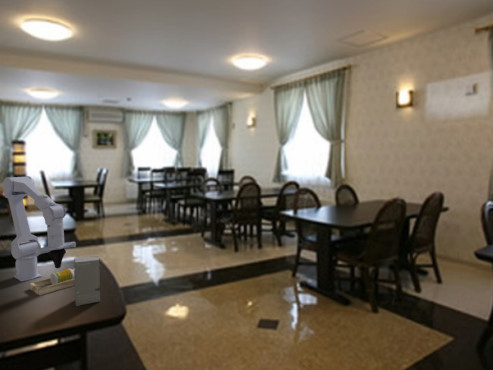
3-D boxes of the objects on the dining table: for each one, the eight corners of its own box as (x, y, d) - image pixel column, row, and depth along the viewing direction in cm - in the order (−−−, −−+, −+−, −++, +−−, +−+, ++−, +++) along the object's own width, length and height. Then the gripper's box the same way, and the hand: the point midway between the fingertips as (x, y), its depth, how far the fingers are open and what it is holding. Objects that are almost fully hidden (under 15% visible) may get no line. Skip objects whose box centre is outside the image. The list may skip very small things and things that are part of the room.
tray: (29, 289, 136) (29, 283, 135) (79, 275, 151) (78, 269, 151) (39, 295, 129) (39, 289, 129) (90, 280, 144) (89, 274, 144)
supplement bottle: (57, 277, 136) (80, 270, 144) (50, 271, 139) (73, 264, 147) (55, 288, 137) (79, 281, 145) (49, 282, 140) (72, 275, 148)
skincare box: (75, 306, 120) (73, 263, 118) (75, 299, 126) (72, 257, 124) (101, 301, 124) (99, 259, 122) (100, 294, 130) (98, 254, 128)
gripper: (40, 240, 129) (42, 274, 131) (78, 233, 141) (80, 264, 142) (32, 237, 134) (35, 270, 135) (70, 230, 145) (72, 261, 146)
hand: (57, 267), depth 139 cm, fingers closed
